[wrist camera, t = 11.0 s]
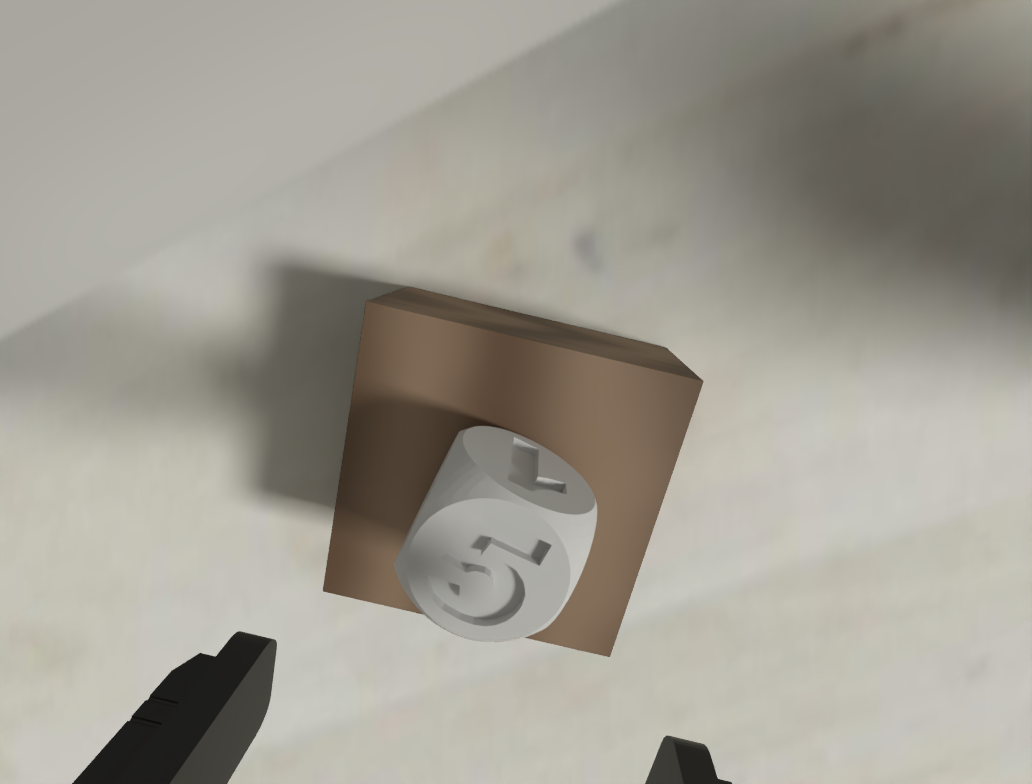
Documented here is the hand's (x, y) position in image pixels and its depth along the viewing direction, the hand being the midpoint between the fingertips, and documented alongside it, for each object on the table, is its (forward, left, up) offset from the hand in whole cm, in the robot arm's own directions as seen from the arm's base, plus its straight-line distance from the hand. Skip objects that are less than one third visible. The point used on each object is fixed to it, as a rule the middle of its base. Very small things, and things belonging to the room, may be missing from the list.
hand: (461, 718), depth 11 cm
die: (0, 0, -10) cm, 10 cm away
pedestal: (0, 0, -16) cm, 16 cm away
